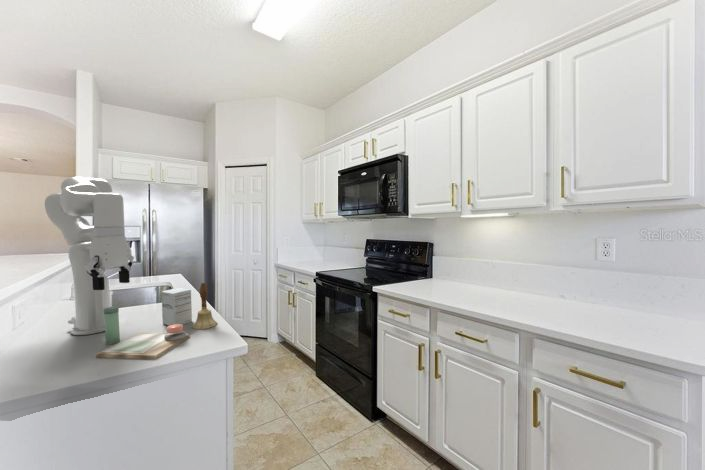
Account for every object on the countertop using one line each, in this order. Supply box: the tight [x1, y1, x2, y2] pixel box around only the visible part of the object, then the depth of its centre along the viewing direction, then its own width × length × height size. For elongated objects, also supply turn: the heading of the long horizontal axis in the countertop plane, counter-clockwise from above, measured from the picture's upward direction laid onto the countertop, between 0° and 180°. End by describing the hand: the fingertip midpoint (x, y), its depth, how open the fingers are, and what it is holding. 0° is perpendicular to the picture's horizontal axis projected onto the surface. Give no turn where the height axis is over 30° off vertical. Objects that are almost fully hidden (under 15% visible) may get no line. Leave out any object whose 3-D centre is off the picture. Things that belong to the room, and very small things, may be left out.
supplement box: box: [161, 287, 193, 326], centre depth 116 cm, size 7×7×13 cm
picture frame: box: [95, 330, 191, 360], centre depth 95 cm, size 18×16×2 cm
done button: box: [166, 324, 184, 333], centre depth 99 cm, size 5×5×1 cm
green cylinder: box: [103, 306, 121, 346], centre depth 98 cm, size 4×4×11 cm
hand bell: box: [192, 282, 218, 330], centre depth 113 cm, size 8×8×16 cm
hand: (112, 286), depth 97 cm, fingers open, 9 cm apart
